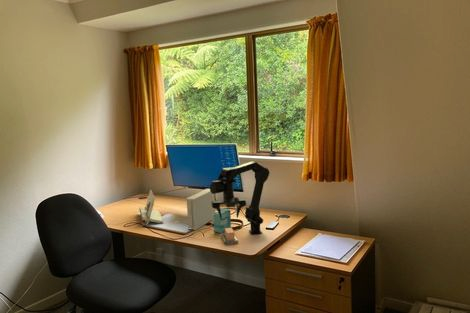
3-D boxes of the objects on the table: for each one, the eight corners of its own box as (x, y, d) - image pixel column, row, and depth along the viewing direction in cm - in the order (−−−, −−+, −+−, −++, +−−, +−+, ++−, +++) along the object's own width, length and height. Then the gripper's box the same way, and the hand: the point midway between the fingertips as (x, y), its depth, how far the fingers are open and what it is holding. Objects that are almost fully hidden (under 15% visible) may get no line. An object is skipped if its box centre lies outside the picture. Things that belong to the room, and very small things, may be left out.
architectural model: (131, 223, 236) (140, 191, 235) (129, 211, 263) (137, 182, 262) (162, 228, 242) (171, 198, 242) (157, 216, 270) (165, 188, 269)
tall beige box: (225, 238, 212) (224, 228, 211) (232, 237, 212) (231, 227, 212) (227, 243, 204) (227, 232, 203) (234, 242, 205) (234, 232, 204)
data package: (220, 233, 219) (219, 214, 218) (214, 232, 222) (213, 213, 220) (231, 227, 229) (230, 209, 228) (225, 226, 232) (224, 208, 230)
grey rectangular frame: (221, 237, 213) (221, 234, 213) (234, 236, 214) (234, 233, 214) (224, 244, 202) (224, 242, 202) (238, 243, 203) (238, 240, 203)
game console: (187, 229, 229) (185, 198, 226) (207, 216, 253) (206, 188, 251) (195, 230, 226) (193, 199, 224) (215, 217, 251) (214, 189, 248)
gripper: (213, 195, 195) (214, 224, 197) (248, 192, 198) (248, 220, 200) (210, 191, 205) (211, 218, 207) (243, 188, 209) (244, 215, 211)
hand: (229, 218), depth 206 cm, fingers open, 9 cm apart
